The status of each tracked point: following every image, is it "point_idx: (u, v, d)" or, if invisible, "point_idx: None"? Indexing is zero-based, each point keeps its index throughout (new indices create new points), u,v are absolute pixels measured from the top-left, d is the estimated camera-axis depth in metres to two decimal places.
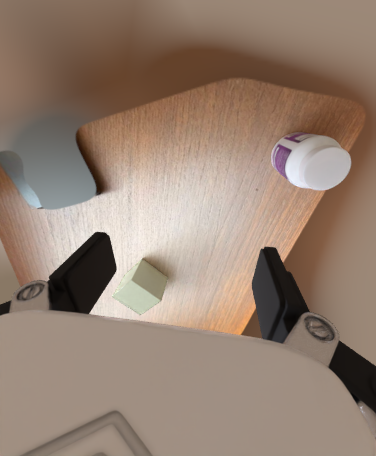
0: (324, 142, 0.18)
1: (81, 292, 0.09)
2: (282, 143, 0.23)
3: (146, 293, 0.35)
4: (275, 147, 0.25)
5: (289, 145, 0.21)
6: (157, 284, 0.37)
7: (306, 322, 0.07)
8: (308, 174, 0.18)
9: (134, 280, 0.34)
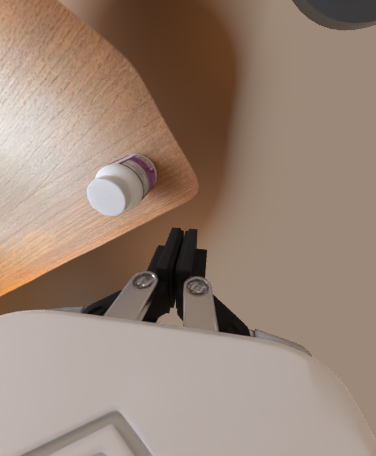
0: (127, 179, 0.20)
1: (174, 283, 0.10)
2: (127, 156, 0.24)
3: None
4: None
5: (119, 160, 0.21)
6: None
7: (192, 284, 0.09)
8: (91, 190, 0.18)
9: None
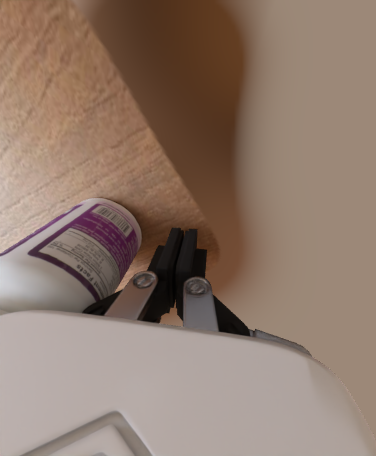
0: (46, 304, 0.07)
1: (174, 283, 0.10)
2: (75, 211, 0.11)
3: None
4: (79, 203, 0.12)
5: (44, 232, 0.09)
6: None
7: (192, 284, 0.09)
8: None
9: None
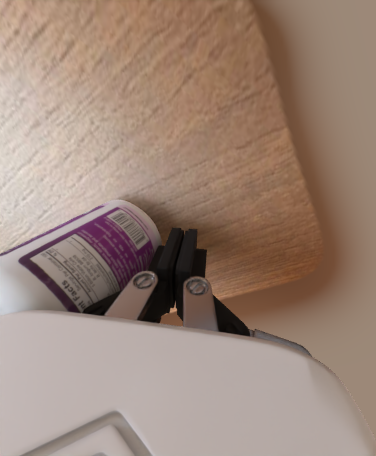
0: None
1: (174, 283, 0.10)
2: (93, 213, 0.10)
3: None
4: (103, 204, 0.12)
5: (49, 235, 0.09)
6: None
7: (192, 284, 0.09)
8: None
9: None
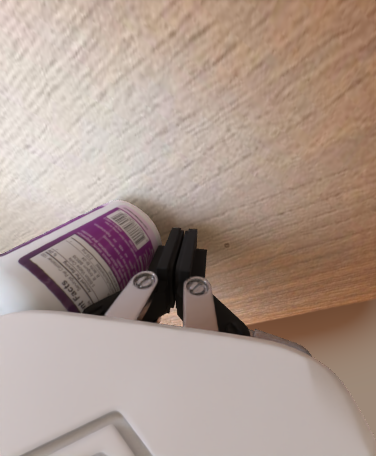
0: None
1: (174, 283, 0.10)
2: (92, 213, 0.11)
3: None
4: (103, 204, 0.12)
5: (49, 236, 0.09)
6: None
7: (192, 284, 0.09)
8: None
9: None
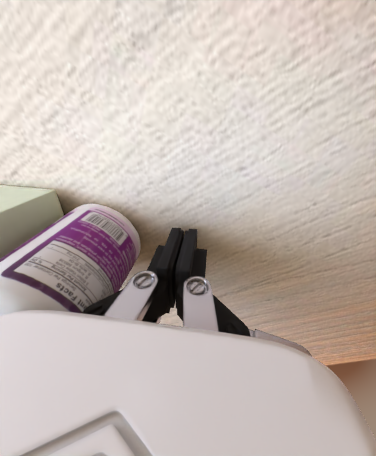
0: None
1: (174, 283, 0.10)
2: (64, 220, 0.10)
3: None
4: (71, 211, 0.12)
5: (25, 247, 0.08)
6: None
7: (192, 284, 0.09)
8: None
9: None
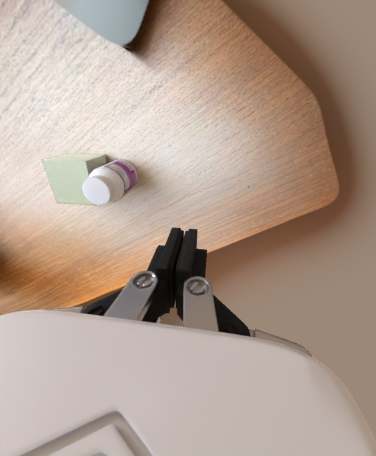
0: (111, 177, 0.27)
1: (174, 283, 0.10)
2: (112, 161, 0.31)
3: None
4: None
5: (105, 164, 0.29)
6: None
7: (192, 284, 0.09)
8: (85, 186, 0.26)
9: (87, 165, 0.28)
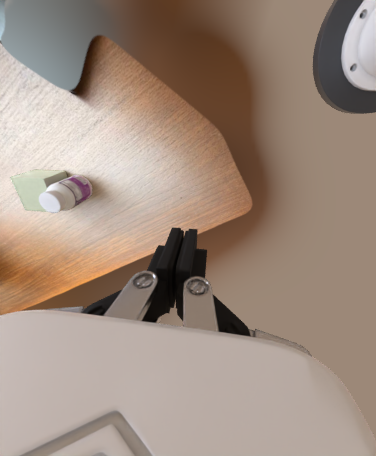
0: (62, 191, 0.35)
1: (174, 283, 0.10)
2: (69, 177, 0.39)
3: None
4: None
5: None
6: None
7: (192, 284, 0.09)
8: (40, 199, 0.33)
9: (46, 181, 0.36)
